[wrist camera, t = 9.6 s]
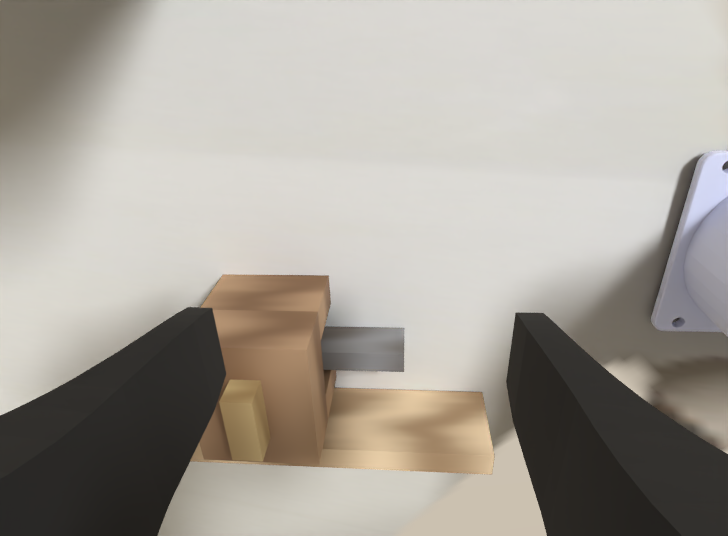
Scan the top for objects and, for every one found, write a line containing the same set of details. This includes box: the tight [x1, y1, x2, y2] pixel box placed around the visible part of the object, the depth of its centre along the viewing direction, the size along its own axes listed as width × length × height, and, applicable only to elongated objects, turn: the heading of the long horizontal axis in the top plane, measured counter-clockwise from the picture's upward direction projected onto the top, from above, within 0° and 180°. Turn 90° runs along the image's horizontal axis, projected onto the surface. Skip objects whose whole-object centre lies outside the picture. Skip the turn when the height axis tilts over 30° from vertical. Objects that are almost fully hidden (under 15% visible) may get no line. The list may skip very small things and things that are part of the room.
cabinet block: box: [199, 275, 336, 465], centre depth 21 cm, size 5×6×7 cm
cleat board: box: [190, 327, 494, 474], centre depth 23 cm, size 18×5×4 cm, turn 92°
